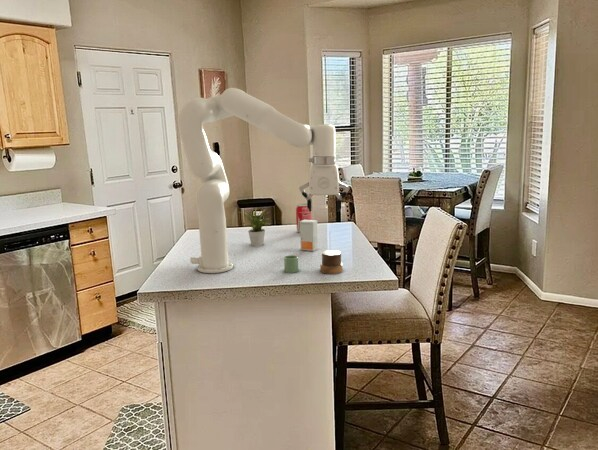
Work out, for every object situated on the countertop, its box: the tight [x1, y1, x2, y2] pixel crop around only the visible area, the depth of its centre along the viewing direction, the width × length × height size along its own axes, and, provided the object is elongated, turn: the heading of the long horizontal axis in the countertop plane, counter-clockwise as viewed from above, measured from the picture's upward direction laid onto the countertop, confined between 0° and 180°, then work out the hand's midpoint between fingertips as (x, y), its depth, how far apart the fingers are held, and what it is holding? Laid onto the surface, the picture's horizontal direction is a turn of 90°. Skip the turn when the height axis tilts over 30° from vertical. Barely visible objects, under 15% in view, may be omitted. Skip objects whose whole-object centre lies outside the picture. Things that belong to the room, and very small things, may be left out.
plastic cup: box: [283, 254, 299, 274], centre depth 178 cm, size 5×5×5 cm
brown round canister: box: [321, 249, 342, 267], centre depth 177 cm, size 7×7×4 cm
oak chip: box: [319, 262, 343, 275], centre depth 177 cm, size 8×8×2 cm
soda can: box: [295, 203, 312, 234], centre depth 240 cm, size 7×7×13 cm
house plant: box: [239, 206, 271, 247], centre depth 216 cm, size 14×14×16 cm
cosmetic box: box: [299, 219, 319, 252], centre depth 207 cm, size 6×4×12 cm
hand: (324, 211), depth 177 cm, fingers open, 9 cm apart
